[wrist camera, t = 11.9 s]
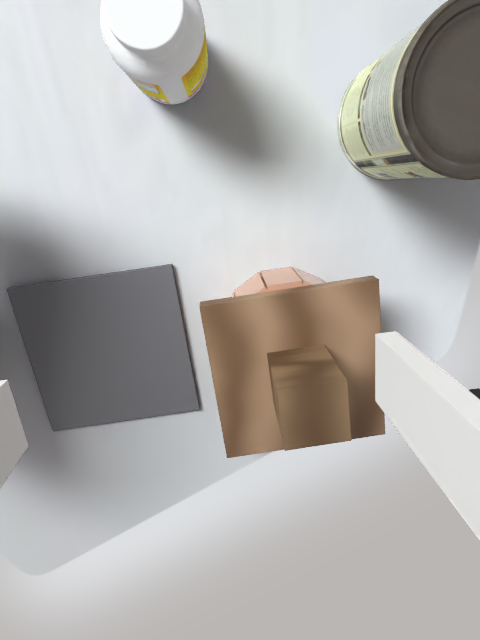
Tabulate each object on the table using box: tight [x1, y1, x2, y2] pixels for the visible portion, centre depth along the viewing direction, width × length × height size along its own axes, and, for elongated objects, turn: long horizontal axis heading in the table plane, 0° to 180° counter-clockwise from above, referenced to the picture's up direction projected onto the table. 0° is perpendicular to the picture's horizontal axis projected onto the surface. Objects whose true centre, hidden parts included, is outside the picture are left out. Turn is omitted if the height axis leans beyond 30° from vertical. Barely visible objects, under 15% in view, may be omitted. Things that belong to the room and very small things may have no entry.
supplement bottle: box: [100, 0, 208, 104], centre depth 30 cm, size 7×7×13 cm
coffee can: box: [338, 0, 480, 180], centre depth 31 cm, size 10×10×14 cm
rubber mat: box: [7, 264, 199, 431], centre depth 44 cm, size 16×16×1 cm
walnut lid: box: [200, 276, 385, 458], centre depth 35 cm, size 15×15×8 cm
